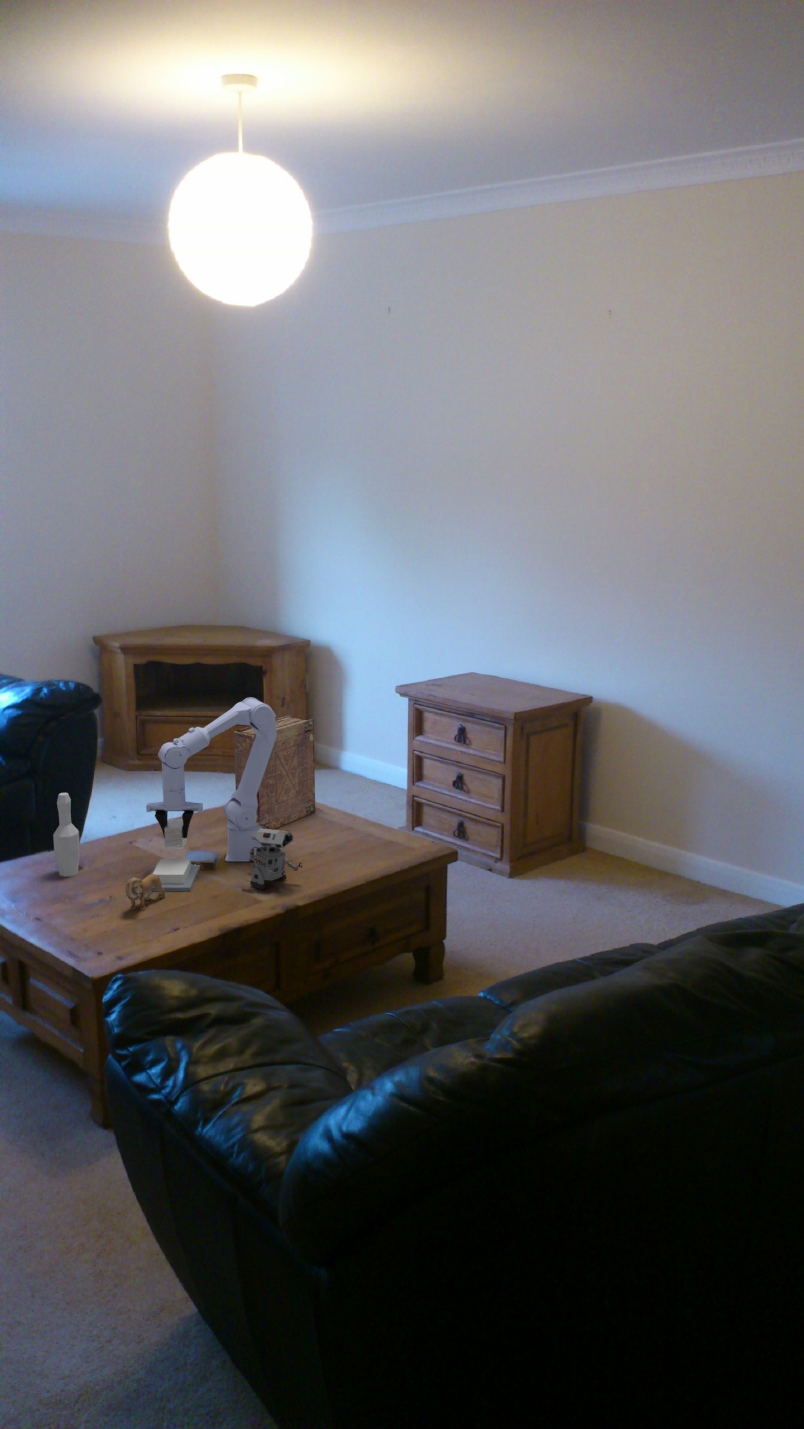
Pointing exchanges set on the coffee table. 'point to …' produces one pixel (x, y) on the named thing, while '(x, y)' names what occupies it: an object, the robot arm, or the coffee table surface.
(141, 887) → the lion figurine
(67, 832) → the faceted bottle
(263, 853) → the figurine
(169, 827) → the block
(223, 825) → the coffee table surface
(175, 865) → the display stand
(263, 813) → the book
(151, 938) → the coffee table surface
